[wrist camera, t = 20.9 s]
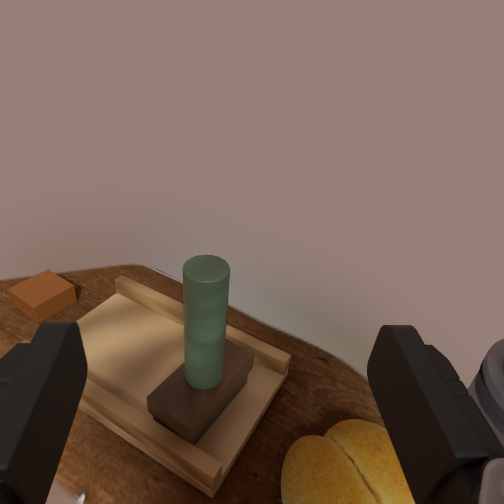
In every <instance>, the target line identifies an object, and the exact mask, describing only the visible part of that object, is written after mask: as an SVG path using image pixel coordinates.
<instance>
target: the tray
mask: <svg viewBox="0 0 504 504" xmlns="http://www.w3.org/2000/svg"><path fill="white" fill-rule="evenodd" d="M115 286H116V292H117V293H116V294H115V295H113V296H112V297H110V298H109V299H107V300H106V301H105V302H103V303H102V304H100V305H99V306H97V307H96V308H95V309H93V310H92V311H90V312H89V313H88V314H86V315H85V316H83V317H82V318H80V319H79V320H78V321H76V322H77V323H78V325H79V328H80V333H81V337H82V341H83V346H84V350H85V354H86V358H87V364H88V372H87V380H86V384H85V388H84V391H83V394H82V397H81V400H80V403H79V406H78V408H79V409H81V410H82V411H84V412H85V413H87V414H88V415H90V416H91V417H93V418H94V419H96V420H97V421H99V422H100V423H102V424H103V425H104V426H106V427H107V428H109V429H110V430H112V431H113V432H115V433H116V434H118V435H119V436H121V437H122V438H124V439H125V440H127V441H128V442H129V443H131V444H132V445H134V446H135V447H137V448H138V449H140V450H141V451H143V452H144V453H146V454H147V455H149V456H150V457H152V458H153V459H154V460H156V461H157V462H159V463H160V464H162V465H163V466H165V467H166V468H168V469H169V470H171V471H172V472H174V473H175V474H177V475H178V476H180V477H181V478H182V479H184V480H185V481H187V482H188V483H190V484H191V485H193V486H194V487H196V488H197V489H199V490H200V491H202V492H203V493H205V494H206V495H207V496H209V497H210V498H213V497H214V496H215V494H216V492H217V491H218V489H219V487H220V486H221V484H222V482H223V481H224V479H225V477H226V476H227V474H228V472H229V471H230V469H231V468H232V466H233V464H234V463H235V461H236V459H237V458H238V456H239V454H240V453H241V451H242V449H243V448H244V446H245V444H246V443H247V441H248V439H249V438H250V436H251V435H252V433H253V431H254V430H255V428H256V426H257V425H258V423H259V421H260V420H261V418H262V416H263V415H264V413H265V411H266V410H267V408H268V406H269V405H270V403H271V401H272V400H273V398H274V397H275V395H276V393H277V392H278V390H279V388H280V387H281V385H282V383H283V382H284V380H285V378H286V377H287V373H288V368H289V363H290V358H291V355H290V354H288V353H286V352H284V351H282V350H280V349H278V348H275V347H273V346H271V345H269V344H267V343H265V342H263V341H261V340H258V339H256V338H254V337H252V336H250V335H248V334H246V333H244V332H242V331H239V330H237V329H235V328H233V327H231V326H229V325H227V324H226V339H228V340H230V341H231V342H233V343H235V344H237V345H238V346H240V347H242V348H244V349H246V350H247V351H249V352H251V353H253V354H254V361H253V369H252V370H251V371H250V372H249V373H248V380H247V384H246V385H245V386H244V387H243V388H242V390H241V391H240V392H239V393H238V394H237V395H236V397H235V398H234V399H233V400H232V401H231V403H230V404H229V405H228V406H227V407H226V409H225V410H224V411H223V412H222V413H221V415H220V416H219V417H218V418H217V419H216V421H215V422H214V423H213V424H212V425H211V427H210V428H209V429H208V430H207V431H206V433H205V434H204V435H203V436H202V437H201V438H200V440H199V441H198V442H197V443H196V444H195V446H194V445H193V444H191V443H189V442H187V441H186V440H185V439H183V438H181V437H180V436H178V435H177V434H175V433H174V432H172V431H170V430H169V429H167V428H166V427H164V426H162V425H161V424H159V423H158V422H156V421H155V420H153V415H151V414H150V413H149V412H148V408H147V399H146V397H147V396H148V395H149V394H150V393H151V392H152V391H153V390H155V389H156V388H157V387H158V386H159V385H160V384H161V383H162V382H163V381H164V380H165V379H166V378H167V377H169V376H170V375H171V374H172V373H173V372H174V371H175V370H176V369H177V368H178V367H179V366H180V365H181V364H183V363H184V362H185V361H184V308H183V304H182V303H180V302H178V301H176V300H174V299H172V298H170V297H167V296H165V295H163V294H161V293H159V292H157V291H155V290H153V289H150V288H148V287H146V286H144V285H142V284H140V283H138V282H136V281H133V280H131V279H129V278H127V277H125V276H123V275H121V276H120V277H118V278H117V279H115ZM21 343H31V342H29V341H28V340H26V339H25V340H24V341H22V342H21Z"/></svg>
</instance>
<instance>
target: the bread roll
mask: <svg viewBox="0 0 504 504" xmlns="http://www.w3.org/2000/svg"><path fill="white" fill-rule="evenodd" d="M281 498H282V504H415V502H414V500H413V497H412V494H411V492H410V489H409V486H408V484H407V481H406V479H405V476H404V473H403V471H402V468H401V466H400V463H399V460H398V458H397V455H396V453H395V450H394V447H393V445H392V442H391V440H390V437H389V434H388V432H387V429H386V428H384V427H382V426H380V425H378V424H376V423H373V422H370V421H366V420H361V419H348V420H343V421H341V422H339V423H337V424H336V425H334V426H333V427H331V428H330V429H329V430H328V431H327V432H326V433H325V435H324V436H323V437H322V436H316V435H307V436H304V437H302V438H300V439H298V440H296V441H295V442H294V443H293V444H292V445H291V447H290V448H289V450H288V452H287V454H286V457H285V460H284V463H283V467H282V473H281Z"/></svg>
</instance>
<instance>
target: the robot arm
mask: <svg viewBox="0 0 504 504" xmlns="http://www.w3.org/2000/svg"><path fill="white" fill-rule="evenodd" d="M87 372H88V364H87V358H86V354H85V350H84V346H83V341H82V337H81V333H80V328H79V325H78V323H77V322H43V323H42V324H41V325H40V327H39V328H38V330H37V332H36V334H35V336H34V338H33V339H32V341H31V343H18V344H17V345H16V346H15V347H13V348H12V349H11V350H10V351H9V352H8V353H7V354H6V355H4V356H3V357H2V358H1V359H0V504H45V503H46V500H47V497H48V494H49V491H50V488H51V485H52V482H53V479H54V476H55V474H56V471H57V468H58V465H59V462H60V459H61V456H62V453H63V450H64V447H65V444H66V441H67V438H68V435H69V432H70V429H71V426H72V423H73V420H74V417H75V414H76V411H77V408H78V406H79V403H80V400H81V397H82V394H83V391H84V388H85V384H86V380H87ZM367 376H368V381H369V385H370V388H371V390H372V393H373V395H374V398H375V401H376V403H377V406H378V408H379V411H380V414H381V416H382V419H383V421H384V424H385V427H386V429H387V432H388V434H389V437H390V440H391V442H392V445H393V447H394V450H395V453H396V455H397V458H398V460H399V463H400V466H401V468H402V471H403V473H404V476H405V479H406V481H407V484H408V486H409V489H410V492H411V494H412V497H413V500H414V502H415V504H504V448H503V446H502V445H501V443H500V441H499V440H498V438H497V437H496V435H495V433H494V432H493V430H492V429H491V427H490V425H489V424H488V422H487V421H486V419H485V417H484V416H483V414H482V413H481V411H480V409H479V408H478V406H477V405H476V403H475V401H474V400H473V398H472V397H471V396H469V394H468V393H469V392H468V390H467V389H466V387H465V385H464V384H463V383H462V381H460V380H459V376H458V374H457V373H456V371H455V369H454V368H453V366H452V365H451V363H450V361H449V360H448V359H447V358H446V357H445V356H443V354H441V353H440V352H439V351H438V350H437V349H436V348H435V347H434V346H432V345H425V344H424V342H423V341H422V339H421V337H420V336H419V334H418V332H417V330H416V329H415V328H414V327H413V326H411V325H383V326H382V327H381V328H380V331H379V333H378V336H377V339H376V341H375V344H374V347H373V350H372V352H371V355H370V358H369V360H368V365H367Z"/></svg>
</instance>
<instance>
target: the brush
mask: <svg viewBox="0 0 504 504" xmlns="http://www.w3.org/2000/svg"><path fill="white" fill-rule="evenodd" d="M229 275H230V267H229V265H228V263H227V262H226V261H225V260H223V259H222V258H219V257H217V256H213V255H199V256H195V257H193V258H190V259H189V260H187V261H186V263H185V264H184V266H183V308H184V361H185V362H184V363H183V364H181V365H180V366H179V367H178V368H177V369H176V370H175V371H174V372H173V373H172V374H171V375H170V376H169V377H167V378H166V379H165V380H164V381H163V382H162V383H161V384H160V385H159V386H158V387H157V388H156V389H155V390H153V391H152V392H151V393H150V394H149V395H148V396H147V397H146V399H147V408H148V412H149V413H150V414H151V415H153V420H155V421H156V422H158V423H159V424H161V425H162V426H164V427H166V428H167V429H169V430H170V431H172V432H174V433H175V434H177V435H178V436H180V437H181V438H183V439H185V440H186V441H187V442H189V443H191V444H193V445H194V446H195V444H196V443H197V442H198V441H199V440H200V438H201V437H202V436H203V435H204V434H205V433H206V431H207V430H208V429H209V428H210V427H211V425H212V424H213V423H214V422H215V421H216V419H217V418H218V417H219V416H220V415H221V413H222V412H223V411H224V410H225V409H226V407H227V406H228V405H229V404H230V403H231V401H232V400H233V399H234V398H235V397H236V395H237V394H238V393H239V392H240V391H241V390H242V388H243V387H244V386H245V385H246V384H247V380H248V373H249V372H250V371H251V370H252V369H253V361H254V354H253V353H251V352H249V351H247V350H246V349H244V348H242V347H240V346H238V345H237V344H235V343H233V342H231V341H230V340H228V339H226V323H227V308H228V292H229V277H230V276H229Z"/></svg>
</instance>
